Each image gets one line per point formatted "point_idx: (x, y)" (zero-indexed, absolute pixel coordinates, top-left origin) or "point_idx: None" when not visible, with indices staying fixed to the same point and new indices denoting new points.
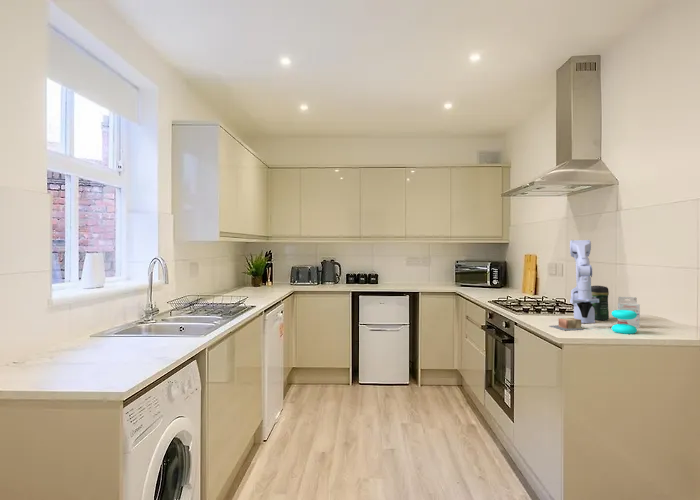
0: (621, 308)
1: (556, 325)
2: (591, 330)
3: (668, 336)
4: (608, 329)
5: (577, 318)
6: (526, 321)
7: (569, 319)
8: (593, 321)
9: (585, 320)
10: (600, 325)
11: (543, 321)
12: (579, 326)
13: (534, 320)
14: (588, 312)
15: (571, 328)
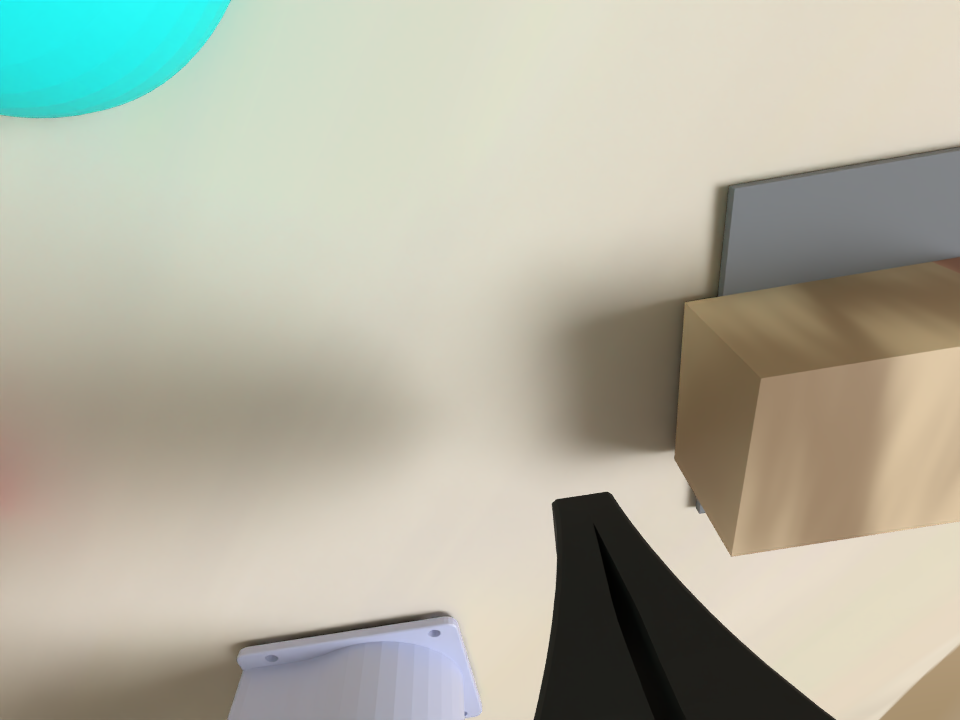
0: None
1: None
2: (622, 126)
3: None
4: (241, 227)
5: (452, 701)
6: (909, 675)
7: (951, 420)
8: (258, 670)
9: (370, 663)
10: (240, 532)
11: None
12: (734, 308)
13: None
14: (565, 592)
15: (875, 268)
